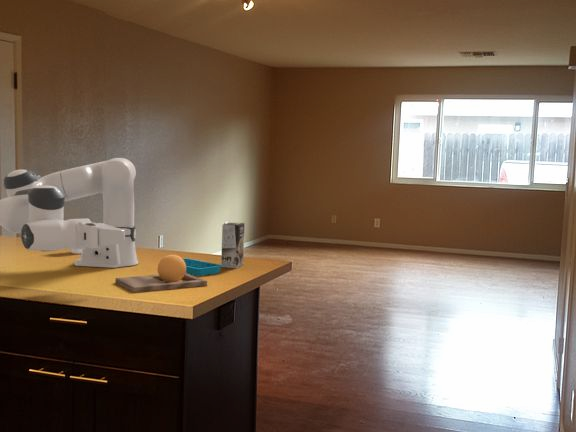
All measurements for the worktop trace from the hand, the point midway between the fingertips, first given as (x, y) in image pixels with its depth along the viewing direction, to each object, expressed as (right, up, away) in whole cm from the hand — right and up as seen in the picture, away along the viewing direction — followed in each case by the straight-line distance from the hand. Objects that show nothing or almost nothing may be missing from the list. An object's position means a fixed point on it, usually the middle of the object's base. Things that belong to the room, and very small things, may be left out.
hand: (128, 231), depth 191 cm
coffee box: (+27, -14, +46) cm, 55 cm away
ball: (+11, -12, +11) cm, 20 cm away
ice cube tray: (+14, -15, +34) cm, 40 cm away
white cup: (-36, -10, +66) cm, 76 cm away
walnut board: (+8, -17, +8) cm, 21 cm away
